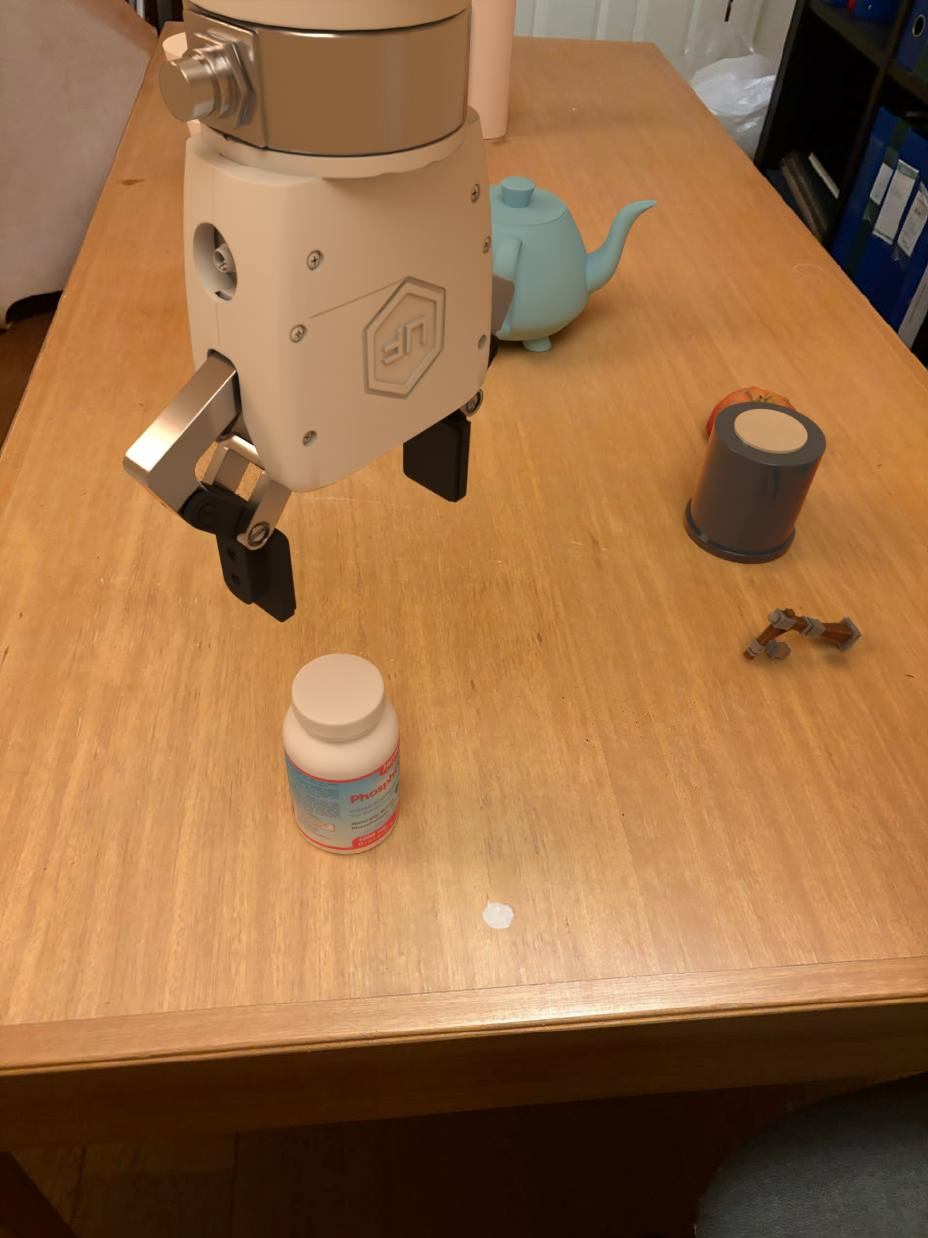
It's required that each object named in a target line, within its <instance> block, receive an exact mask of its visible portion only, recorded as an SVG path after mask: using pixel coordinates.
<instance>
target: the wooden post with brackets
mask: <svg viewBox="0 0 928 1238" xmlns="http://www.w3.org/2000/svg"><path fill="white" fill-rule="evenodd" d="M767 621H769V622H770V624H769V625H768V626H767V627H766V628H765V629H764V630H763V631H762V632H761V634H760V635H758V637H754V638H753V640H752V641H751V642H750V643H749V644H748V647H747V648H746V649H745V650H744V651H743V652H742V653H743V655H744V656H745V658H746V660H750V661H754V660H755V658H756V657H758V656H759V655H760V654H762V653H763V652H765V653H766V654H768V656H769V658H770V659H771V660H774V659H775V657H776V658H780V659H781V660H782V661H783V660H784V659H785V658H786V657H787V656H789V655H791V653H792V649H791V647H790V646H789V645H788V643H787V642H786V640H783V641H777V639H776V638H778V637H780V636H782V635H784V634H786V633H788V632H790V631H796V632H798V634H799V635H800V636H802V637H804V636H805V637H811V638H813V639H816V640H817V639H818V638H823V639H825V640H829V641H831V642H833V643H835V644H836V645H837V647H838V648H839V649H840V651H841V652H844V653H847V652H848V651H849V649H850V648H851V647H852V646H854V644H855V643H856V642H857V641H859V640H860V638H861V637H862V636H863V633H862V632H861V631H860V629H859V628H858V626H857V625H856V624H855V623H854V621H853V620H852V619H851V618H850V616H844V617H843V618H842V619H841V620H840V621H839V622H823V621H821V620H820V619H819V618H812V617H810V616H806V615H803V614H801V615H800V616H798V615H796V612H795V610H794V609H793V608H790V607H786V608H784V609H780V608H778V607H776V608H775V609H774V610H773V611H771V612H770V613H768V615H767Z"/></svg>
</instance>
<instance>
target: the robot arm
mask: <svg viewBox="0 0 928 1238" xmlns="http://www.w3.org/2000/svg"><path fill="white" fill-rule="evenodd" d="M181 1H182V8H183V10H182V19H183V27H184V32H185V34H186V41H187V48H188V49H187V50H186V51H185V52H184V53H183V54H182V58H179V59H175V60H170V61H167V60H166V61H163V62H162V63H161V64H160V67H159V69H158V77H157V78H158V85H159V86H158V87H159V91H160V94H161V96H162V100H163V102H164V104H165V106H166V108H167V110H168V111H169V113H170V114H171V116H173V117H174V118H175V119H176V120H177V121H179V122H181V123H187V121H191V120H195V119H198V120H199V121H200V127H201V132H199V133H197V134H195V135H193V136H191V135H190V137H188V138H187V139H186V142H185V154H184V155H185V158H184V174H183V209H182V210H183V214H182V216H183V217H182V218H183V219H182V225H183V226H182V227H183V228H182V230H183V231H182V232H183V233H182V234H183V262H184V263H183V265H184V280H185V294H186V295H185V297H186V309H187V317H188V318H187V319H188V328H189V336H190V337H189V338H190V346H191V352H192V353H191V354H192V361H193V367H194V373H193V375H192V376H191V378H189V380H188V381H187V382H186V383H185V384H184V386H183V387H182V388H181V389H180V390H179V391H178V392H177V394H176V395H175V396H174V397H173V398H172V399H171V400H170V401H169V403H168V404H167V405H166V406H165V407H164V408H163V410H162V411H161V412H160V413H159V414H158V415H157V416H156V417H155V418H154V420H153V421H152V422H151V423H150V425H149V426H147V428H146V429H144V431H143V433H142V434H141V435H140V436H139V437H138V438H137V439H136V441H134V443H133V444H132V445H131V446H130V447H129V448H128V449H127V451H126V453H125V454H124V456H123V459H122V467H123V469H124V471H125V473H127V475H129V476H130V477H131V478H132V479H133V480H134V481H136V482H137V483H138V484H139V485H140V486H141V487H142V488H144V490H145V491H146V492H148V493H149V494H150V495H151V496H153V497H154V498H155V499H156V500H157V501H159V503H160V504H161V505H162V506H163V507H164V508H166V509H168V511H170V512H172V513H173V514H174V515H176V516H177V517H178V518H180V519H181V520H183V522H185V523H187V524H188V525H190V526H191V527H192V528H193V529H196V530H198V531H202V532H205V533H208V534H211V535H215V541H216V545H217V550H218V551H217V552H218V557H219V561H220V567H221V572H222V577H223V581H224V583H225V585H226V587H227V589H228V590H229V592H230V593H231V594H232V595H233V596H234V597H236V598H237V599H238V600H239V601H241V602H242V603H244V604H245V605H248V606H249V605H252V604H255V605H256V606H257V607H258V608H260V609H261V610H263V611H264V612H265V613H267V614H268V615H269V616H271V617H272V618H273V619H275V620H277V621H278V623H283V624H284V623H285V622H286V621H288V620H289V619H291V618H292V617H294V615H295V614H296V612H295V611H296V610H297V600H296V590H295V582H294V572H293V564H292V555H291V547H290V541H289V538H288V536H287V535H286V534H285V533H284V532H282V530H279V529H278V528H276V527H277V525H278V522H279V521H280V518H281V516H282V514H283V512H284V510H285V507H286V506H287V503H288V501H289V500H290V497H291V495H292V494H293V493H296V494H308V493H313V492H317V491H320V490H323V489H326V488H328V487H330V486H332V485H335V484H336V483H339V482H340V481H343V479H345V478H347V477H349V476H351V475H353V474H354V473H357V472H358V471H360V470H362V469H363V468H364V467H366V466H368V465H370V464H371V463H373V462H375V461H377V460H378V459H379V458H381V457H383V456H385V455H387V454H388V453H390V452H391V451H393V450H394V449H396V448H398V447H400V446H401V445H402V472H403V474H404V476H406V477H407V478H408V479H410V480H412V481H413V482H415V483H416V484H418V485H420V486H421V487H423V488H425V489H426V490H429V491H430V492H431V493H434V494H435V495H437V496H438V497H440V498H442V499H444V500H446V501H447V502H450V503H451V502H452V503H458V502H459V501H461V500H462V499H463V498H466V496H467V493H468V492H467V490H468V477H469V476H468V475H469V461H470V448H471V447H470V446H471V429H472V421H471V420H469V419H467V418H468V417H472V416H474V415H476V413H478V411H479V410H480V408H481V406H482V404H483V401H484V391H483V389H482V386H483V385H484V383H485V380H486V377H487V372H488V370H489V368H490V367H491V365H492V363H493V361H494V359H495V358H496V357H497V355H498V354H499V349H500V340H499V339H498V337H497V336H496V333H497V331H501V328H502V325H503V322H504V320H505V317H506V314H507V312H508V309H509V306H510V303H511V301H512V298H513V295H514V291H515V285H514V283H513V282H512V281H510V280H508V279H506V278H503V277H501V276H499V275H497V274H494V273H492V221H491V204H490V188H489V186H490V180H489V171H488V170H489V169H488V162H487V161H488V160H487V152H486V145H485V139H483V133H482V127H481V122H480V116H479V114H478V113H477V111H476V110H475V109H474V108H472V107H471V106H469V105H467V99H468V79H469V58H470V37H471V17H472V0H181ZM214 443H217V445H216V448H215V450H214V452H213V455H212V456H211V458H210V462H209V463H208V466H207V467H206V470H205V472H204V474H203V477H202V478H201V480H200V479H198V477H197V476H196V467H197V464H198V462H199V461H200V459H201V458H202V457H203V455H204V454H205V453H206V452H207V451H208V450H209V449H210V447H211V446H212V445H213V444H214ZM250 463H251V464H253V465H254V466H255V467H257V468H258V469H260V470H262V471H261V473H260V475H259V477H258V479H257V481H256V483H255V485H254V488H253V490H252V492H251V494H250V496H249V498H248V500H247V499H245V498H244V497H243V496H241V495H240V494H237V490H238V489H239V486H240V485H241V482H242V479H243V478H244V475H245V473H246V471H247V469H248V467H249V465H250Z"/></svg>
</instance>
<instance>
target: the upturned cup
mask: <svg viewBox="0 0 928 1238" xmlns="http://www.w3.org/2000/svg"><path fill="white" fill-rule="evenodd" d="M826 448H827V440H826V435H825V434H824V432H823V430H822V428H821V427H820V426H819V425H818V424H817V423H816V422H814V421H813V420H812V419H811V418H809V417H808V416H806V415H805V414H803V413H802V412H800V411H797V410H796V411H795V410H793V409H790V408H788V407H785V406H781V405H777V404H773V403H767V402H742V403H737V404H733V405H730V406H728V407H726V408H725V409H723V410H722V411H721V412H720V413H719V414H718V415H717V416H716V418H715V421H714V424H713V428H712V431H711V435H710V438H709V437H708V442H707V445H706V449H705V453H704V456H703V460H702V463H701V466H700V469H699V474H698V477H697V480H696V483H695V487H694V490H693V494H692V496H691V497H690V498H689V499H688V501H687V503H686V505H685V508H684V511H683V516H682V519H683V520H682V521H683V526H684V528H685V531H686V533H687V535H688V536H689V538H690V539H691V540H692V541H693V542H694V543H695V544H696V545H698V546H699V547H700V548H701V549H702V550H704V551H705V552H708V553H709V554H711V555H713V556H715V557H718V558H720V559H723V560H726V561H730V562H734V563H738V564H739V563H740V564H750V565H752V564H764V563H767V562H768V563H769V562H772V561H774V560H777V559H779V558H780V557H781V558H782V557H783V556H784V555H785V554H786V553H787V552H788V551H789V550H790V549H791V546H792V545H793V542H794V540H795V536H796V523H797V521H798V518H799V516H800V514H801V511H802V509H803V506H804V504H805V501H806V500H807V499H806V498H807V496H808V494H809V491H810V489H811V486H812V484H813V481H814V479H815V476H816V473H817V472H818V469H819V466H820V463H821V461H822V459H823V456H824V453H825V451H826Z"/></svg>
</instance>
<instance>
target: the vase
mask: <svg viewBox="0 0 928 1238" xmlns="http://www.w3.org/2000/svg"><path fill="white" fill-rule="evenodd" d="M516 10H517V0H472V17H471V37H470V58H469V79H468V99H467V105H469V106H471V107H472V108H474V109H475V110H476V111H477V113H478V114H479V116H480V122H481V127H482V133H483V139H484V140H491V139H492V140H494V139H498V138H502V137H504V136H505V135H506V134H507V126H508V113H509V101H510V100H509V99H510V87H511V75H512V74H511V73H512V62H513V48H514V38H515V37H514V36H515V24H516V23H515V22H516Z"/></svg>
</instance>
